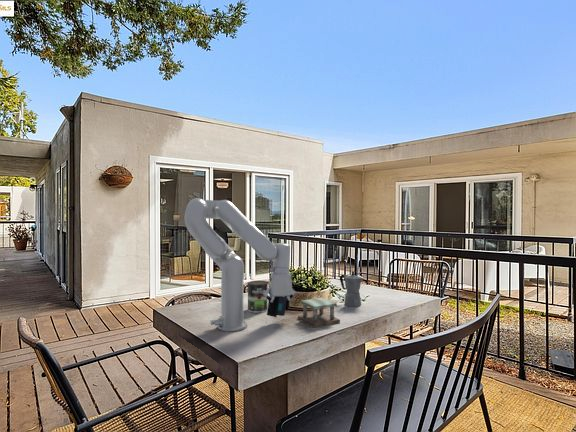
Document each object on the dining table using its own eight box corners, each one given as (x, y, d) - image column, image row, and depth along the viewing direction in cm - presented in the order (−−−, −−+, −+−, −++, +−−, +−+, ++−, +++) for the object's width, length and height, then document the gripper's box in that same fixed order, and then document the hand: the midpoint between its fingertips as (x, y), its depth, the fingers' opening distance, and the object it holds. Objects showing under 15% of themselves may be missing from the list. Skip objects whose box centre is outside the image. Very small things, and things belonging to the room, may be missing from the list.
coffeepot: (368, 305, 186) (368, 272, 186) (358, 308, 179) (357, 274, 179) (345, 300, 197) (344, 268, 197) (334, 303, 190) (334, 270, 190)
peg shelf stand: (313, 327, 149) (313, 307, 149) (297, 318, 161) (297, 300, 161) (339, 322, 155) (339, 303, 155) (322, 314, 168) (322, 297, 168)
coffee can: (269, 311, 173) (269, 284, 173) (249, 313, 170) (249, 285, 170) (265, 306, 183) (265, 280, 183) (246, 308, 180) (246, 281, 180)
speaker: (273, 317, 150) (275, 293, 151) (266, 315, 155) (269, 291, 156) (287, 317, 154) (289, 294, 155) (280, 314, 159) (282, 292, 160)
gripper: (266, 272, 149) (264, 313, 148) (301, 271, 157) (299, 310, 156) (260, 269, 155) (258, 309, 155) (293, 268, 163) (291, 306, 163)
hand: (278, 309), depth 156 cm, fingers closed on speaker, 6 cm apart
